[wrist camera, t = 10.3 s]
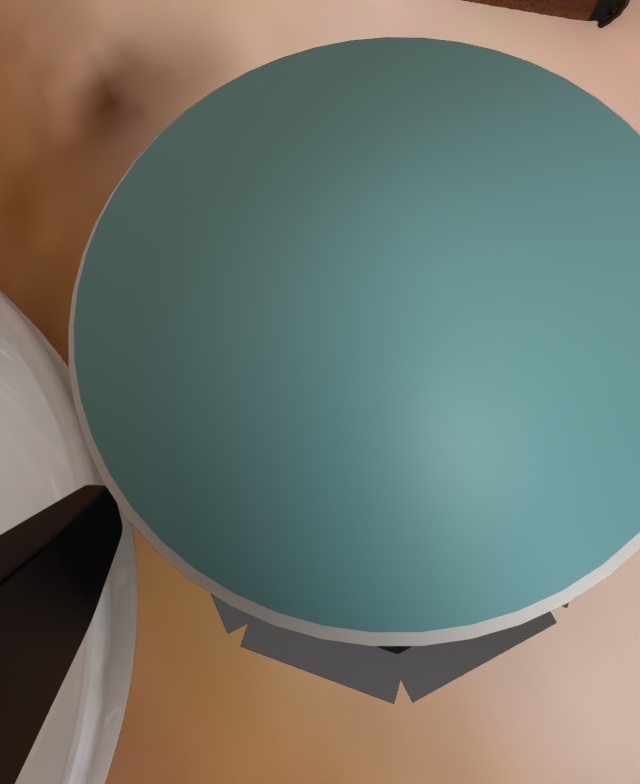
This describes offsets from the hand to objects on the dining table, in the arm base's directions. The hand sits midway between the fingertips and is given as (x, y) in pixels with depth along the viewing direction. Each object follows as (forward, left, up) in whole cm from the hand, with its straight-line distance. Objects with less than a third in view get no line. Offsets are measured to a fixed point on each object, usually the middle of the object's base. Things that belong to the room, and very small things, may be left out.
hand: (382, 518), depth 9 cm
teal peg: (+1, -1, -8) cm, 8 cm away
